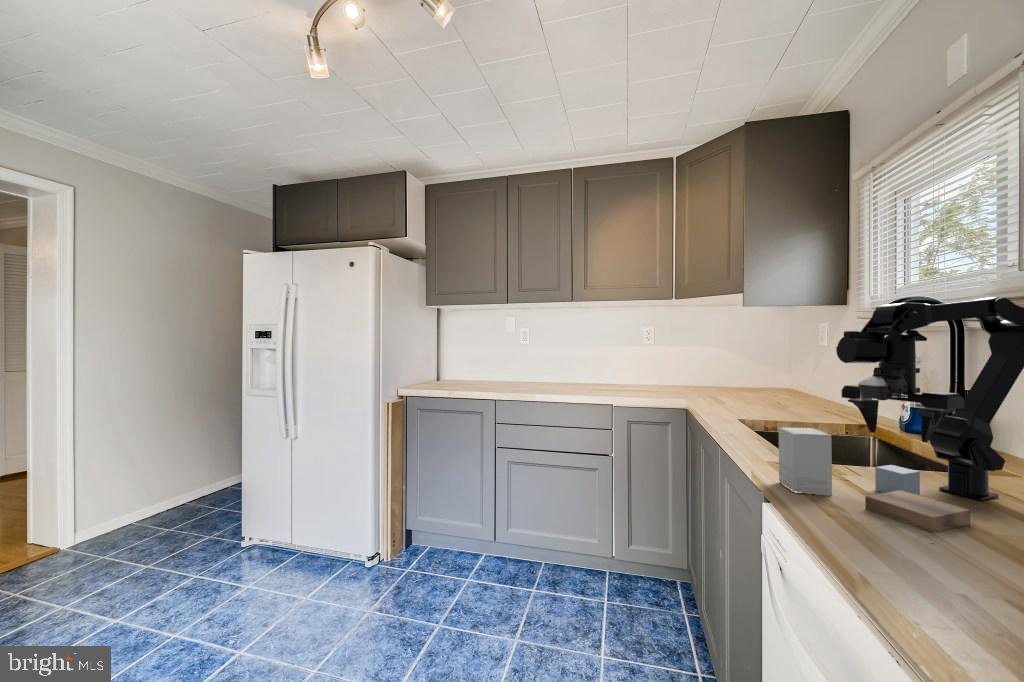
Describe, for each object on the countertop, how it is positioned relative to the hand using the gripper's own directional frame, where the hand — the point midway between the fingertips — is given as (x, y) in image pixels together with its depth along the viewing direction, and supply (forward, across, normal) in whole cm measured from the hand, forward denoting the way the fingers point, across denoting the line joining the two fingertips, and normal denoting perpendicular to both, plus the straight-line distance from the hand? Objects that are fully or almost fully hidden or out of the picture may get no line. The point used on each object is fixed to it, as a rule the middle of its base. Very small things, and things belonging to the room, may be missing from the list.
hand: (897, 437), depth 86 cm
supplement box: (+12, -8, -17) cm, 22 cm away
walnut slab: (+12, +9, -11) cm, 18 cm away
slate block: (+12, 0, 0) cm, 12 cm away
